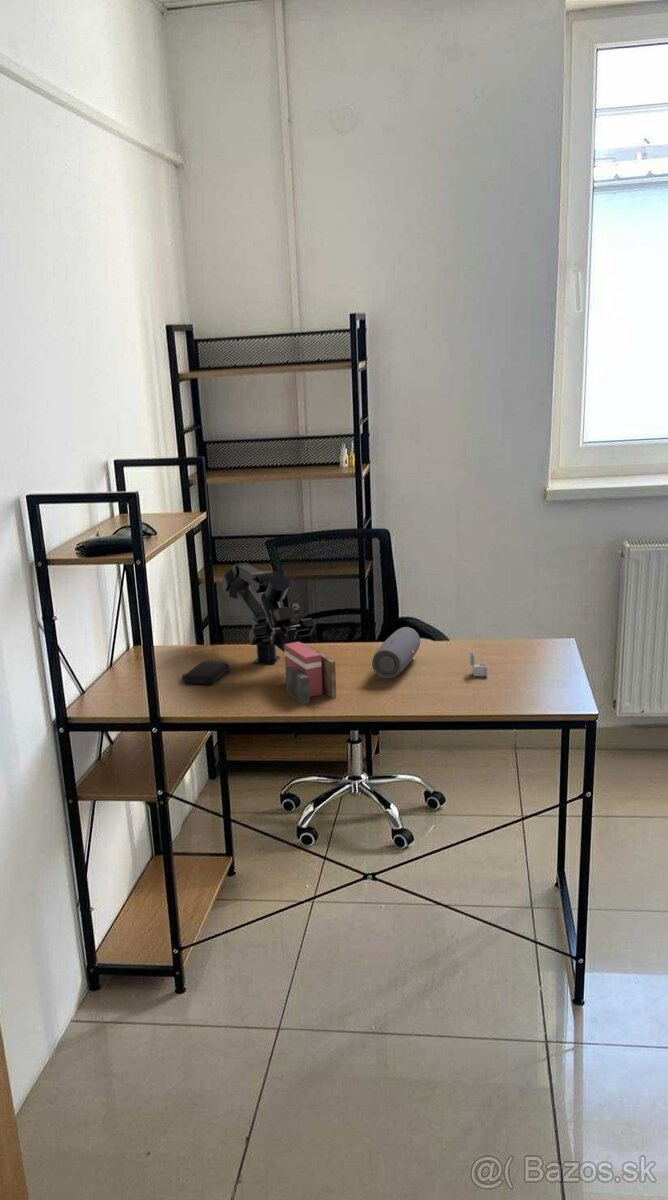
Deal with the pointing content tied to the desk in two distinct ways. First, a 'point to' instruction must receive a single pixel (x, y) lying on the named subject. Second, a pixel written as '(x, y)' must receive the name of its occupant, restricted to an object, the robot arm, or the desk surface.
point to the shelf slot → (300, 681)
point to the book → (305, 664)
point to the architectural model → (476, 669)
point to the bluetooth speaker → (396, 652)
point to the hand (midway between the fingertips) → (292, 657)
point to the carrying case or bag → (206, 673)
